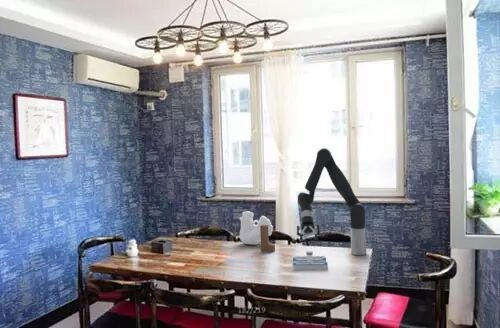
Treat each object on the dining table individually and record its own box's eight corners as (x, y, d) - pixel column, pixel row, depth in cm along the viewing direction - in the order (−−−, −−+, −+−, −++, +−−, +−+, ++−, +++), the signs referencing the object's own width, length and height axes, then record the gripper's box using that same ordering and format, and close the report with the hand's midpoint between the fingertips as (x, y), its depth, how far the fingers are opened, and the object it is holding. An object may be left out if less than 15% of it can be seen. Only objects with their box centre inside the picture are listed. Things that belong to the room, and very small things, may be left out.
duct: (324, 259, 262) (324, 253, 262) (327, 269, 242) (327, 262, 241) (292, 259, 264) (292, 253, 264) (293, 269, 243) (292, 262, 243)
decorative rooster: (236, 245, 306) (235, 212, 305) (245, 241, 321) (243, 209, 320) (268, 248, 297) (266, 213, 295) (275, 242, 311) (274, 210, 310)
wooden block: (275, 250, 288) (274, 225, 287) (273, 252, 284) (272, 226, 283) (263, 249, 292) (262, 224, 291) (260, 251, 288) (259, 225, 287)
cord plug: (312, 265, 250) (312, 250, 249) (313, 267, 246) (312, 252, 246) (306, 265, 250) (306, 251, 250) (306, 267, 246) (306, 252, 246)
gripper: (296, 215, 264) (297, 237, 253) (318, 215, 263) (320, 237, 252) (296, 222, 270) (297, 244, 259) (318, 221, 268) (320, 243, 258)
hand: (308, 240), depth 255 cm, fingers open, 8 cm apart
